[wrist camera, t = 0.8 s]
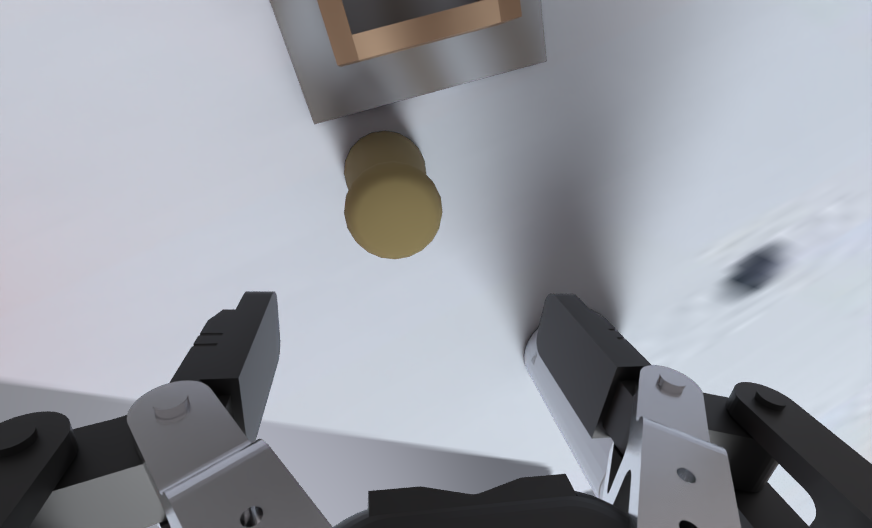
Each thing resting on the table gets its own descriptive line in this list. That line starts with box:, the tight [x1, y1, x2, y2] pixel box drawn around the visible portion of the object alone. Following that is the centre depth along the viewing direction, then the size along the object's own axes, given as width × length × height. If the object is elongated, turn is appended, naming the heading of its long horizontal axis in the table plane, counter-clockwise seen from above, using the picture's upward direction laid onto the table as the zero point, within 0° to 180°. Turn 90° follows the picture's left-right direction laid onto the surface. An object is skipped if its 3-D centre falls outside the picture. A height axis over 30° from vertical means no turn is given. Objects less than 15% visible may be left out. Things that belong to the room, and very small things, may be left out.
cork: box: [344, 131, 442, 259], centre depth 25 cm, size 6×6×11 cm
